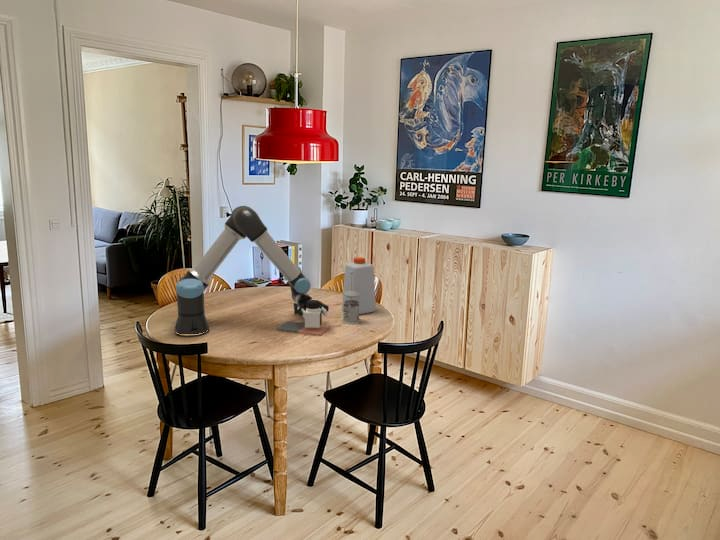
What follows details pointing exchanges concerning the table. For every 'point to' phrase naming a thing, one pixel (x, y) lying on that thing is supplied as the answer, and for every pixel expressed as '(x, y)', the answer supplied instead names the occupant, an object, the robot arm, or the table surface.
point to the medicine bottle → (313, 314)
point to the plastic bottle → (360, 284)
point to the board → (302, 328)
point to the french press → (351, 307)
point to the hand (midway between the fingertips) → (315, 314)
